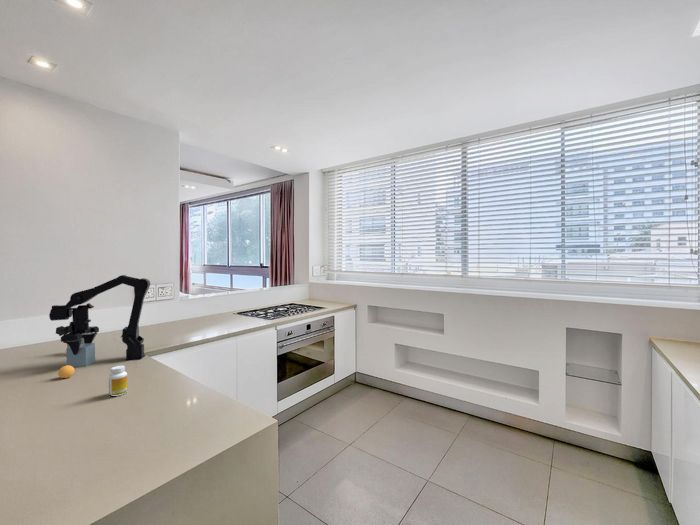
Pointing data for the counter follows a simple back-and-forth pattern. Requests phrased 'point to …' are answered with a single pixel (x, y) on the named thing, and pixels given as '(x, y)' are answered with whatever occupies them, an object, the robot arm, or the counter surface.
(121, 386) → the supplement bottle
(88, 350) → the pale blue-grey cube
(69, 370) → the ball
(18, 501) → the counter surface
